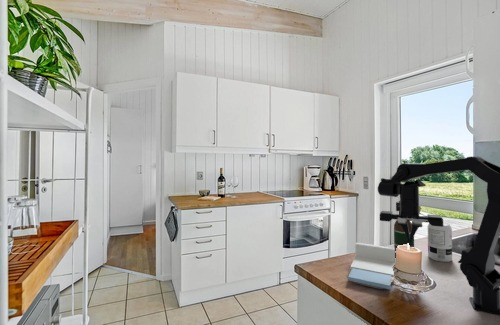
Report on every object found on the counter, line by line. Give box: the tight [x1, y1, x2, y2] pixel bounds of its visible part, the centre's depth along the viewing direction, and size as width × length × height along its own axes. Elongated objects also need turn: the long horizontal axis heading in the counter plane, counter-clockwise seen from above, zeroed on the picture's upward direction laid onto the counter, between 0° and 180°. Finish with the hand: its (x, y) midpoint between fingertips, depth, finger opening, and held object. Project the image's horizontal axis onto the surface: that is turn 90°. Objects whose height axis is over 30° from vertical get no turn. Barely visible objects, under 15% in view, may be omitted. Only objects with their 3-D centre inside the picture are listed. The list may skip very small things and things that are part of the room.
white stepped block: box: [350, 242, 396, 278], centre depth 95 cm, size 14×14×8 cm
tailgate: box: [348, 268, 392, 290], centre depth 86 cm, size 2×13×8 cm
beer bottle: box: [393, 200, 415, 251], centre depth 111 cm, size 8×8×24 cm
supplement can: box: [427, 222, 453, 263], centre depth 106 cm, size 8×8×15 cm
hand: (409, 242), depth 89 cm, fingers closed
